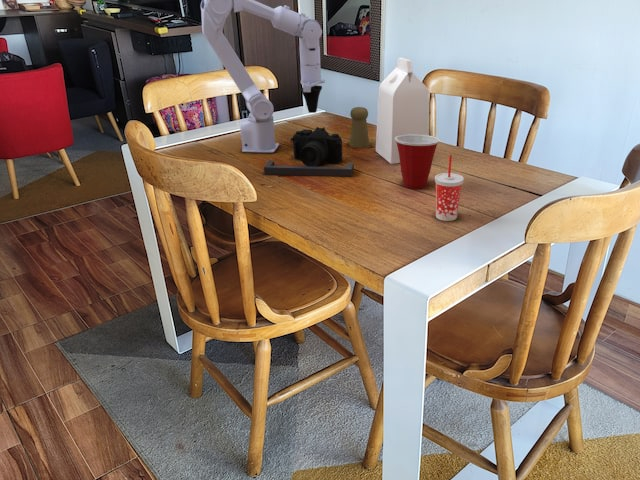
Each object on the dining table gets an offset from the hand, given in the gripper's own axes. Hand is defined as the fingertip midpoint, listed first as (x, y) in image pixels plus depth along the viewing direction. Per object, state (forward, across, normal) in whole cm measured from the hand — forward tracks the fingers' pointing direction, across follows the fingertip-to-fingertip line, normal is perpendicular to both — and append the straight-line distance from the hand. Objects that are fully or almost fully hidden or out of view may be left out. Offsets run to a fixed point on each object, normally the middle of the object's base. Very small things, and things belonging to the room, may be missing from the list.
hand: (312, 112), depth 169 cm
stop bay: (+9, -25, -3) cm, 27 cm away
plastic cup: (+10, -32, -31) cm, 46 cm away
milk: (+10, -9, -27) cm, 30 cm away
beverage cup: (+10, -51, -39) cm, 65 cm away
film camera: (+10, -18, -4) cm, 21 cm away
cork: (+10, 0, -14) cm, 17 cm away
